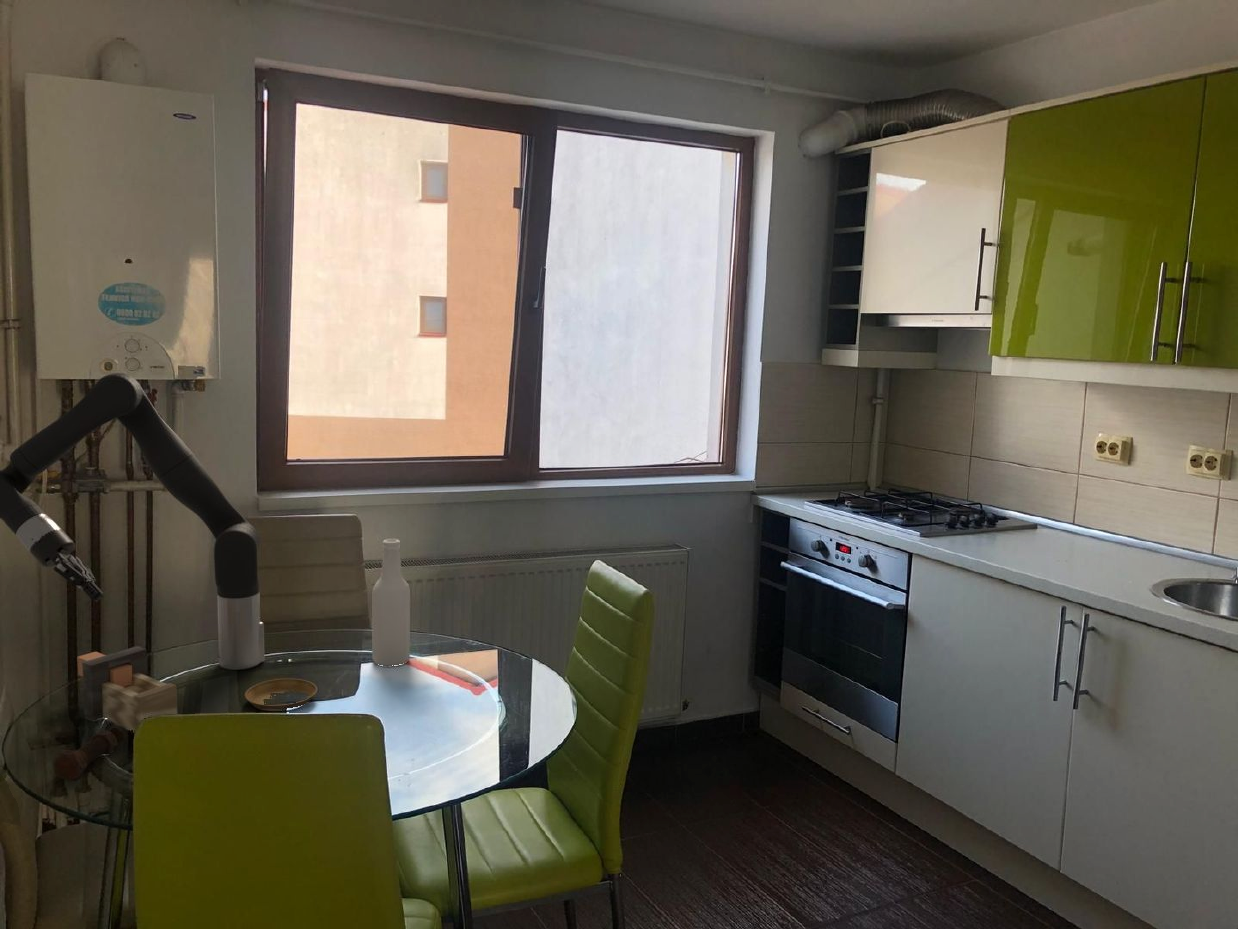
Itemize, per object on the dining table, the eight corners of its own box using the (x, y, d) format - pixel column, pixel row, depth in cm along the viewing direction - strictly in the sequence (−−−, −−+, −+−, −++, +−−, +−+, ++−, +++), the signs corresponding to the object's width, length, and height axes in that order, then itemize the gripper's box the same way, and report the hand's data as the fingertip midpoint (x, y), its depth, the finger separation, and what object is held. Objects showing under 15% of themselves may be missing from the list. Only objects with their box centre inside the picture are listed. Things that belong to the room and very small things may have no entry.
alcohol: (392, 651, 248) (393, 534, 243) (417, 660, 243) (418, 540, 238) (364, 661, 241) (364, 540, 236) (389, 671, 236) (389, 547, 231)
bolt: (122, 752, 195) (71, 787, 180) (100, 738, 195) (48, 772, 180) (135, 729, 194) (85, 762, 179) (113, 715, 194) (62, 747, 179)
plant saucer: (231, 703, 215) (230, 691, 215) (290, 683, 227) (290, 672, 226) (271, 723, 207) (271, 711, 206) (331, 702, 218) (331, 690, 218)
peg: (78, 675, 211) (77, 656, 211) (96, 669, 215) (95, 651, 214) (114, 690, 205) (113, 671, 204) (132, 684, 208) (131, 665, 207)
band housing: (85, 718, 204) (82, 662, 202) (140, 699, 214) (137, 646, 212) (131, 739, 196) (129, 681, 194) (186, 719, 206) (184, 663, 204)
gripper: (45, 556, 220) (98, 612, 218) (15, 548, 207) (71, 608, 205) (73, 532, 221) (126, 588, 220) (45, 523, 208) (100, 583, 207)
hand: (99, 598), depth 212 cm, fingers closed
